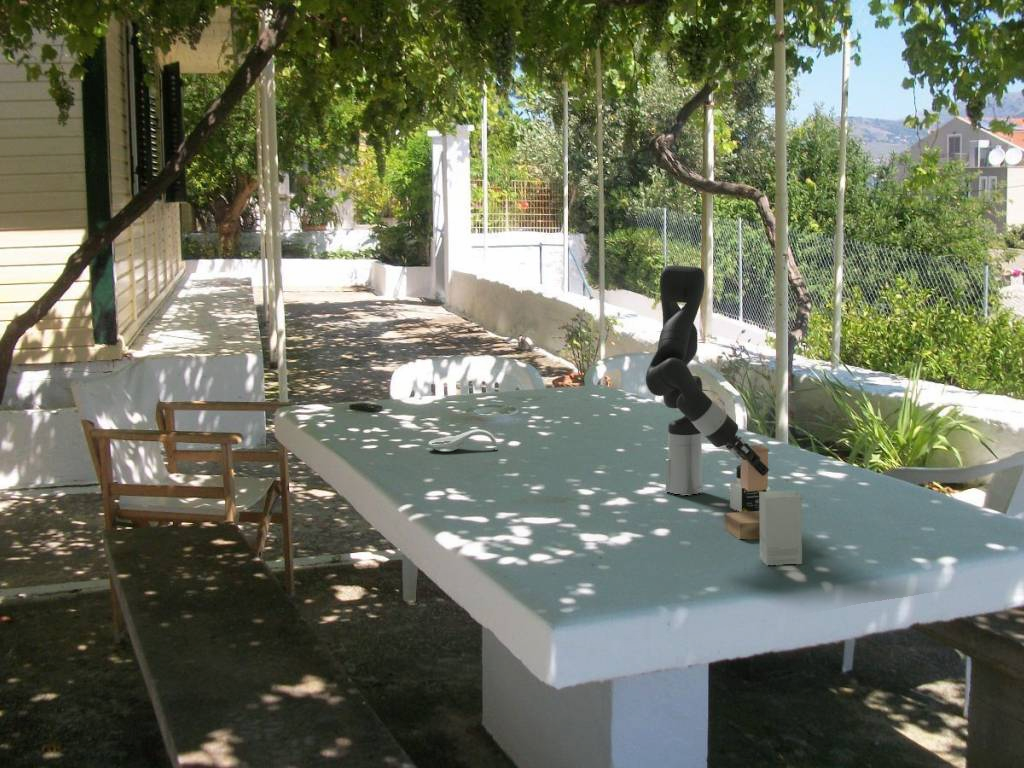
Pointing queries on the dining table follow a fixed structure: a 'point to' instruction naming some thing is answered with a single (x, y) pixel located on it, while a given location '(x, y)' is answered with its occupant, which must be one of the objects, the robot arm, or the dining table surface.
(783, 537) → the skincare box
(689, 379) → the robot arm
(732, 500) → the medicine bottle
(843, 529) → the dining table surface
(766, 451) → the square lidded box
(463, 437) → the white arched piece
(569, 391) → the dining table surface
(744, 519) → the teak block
